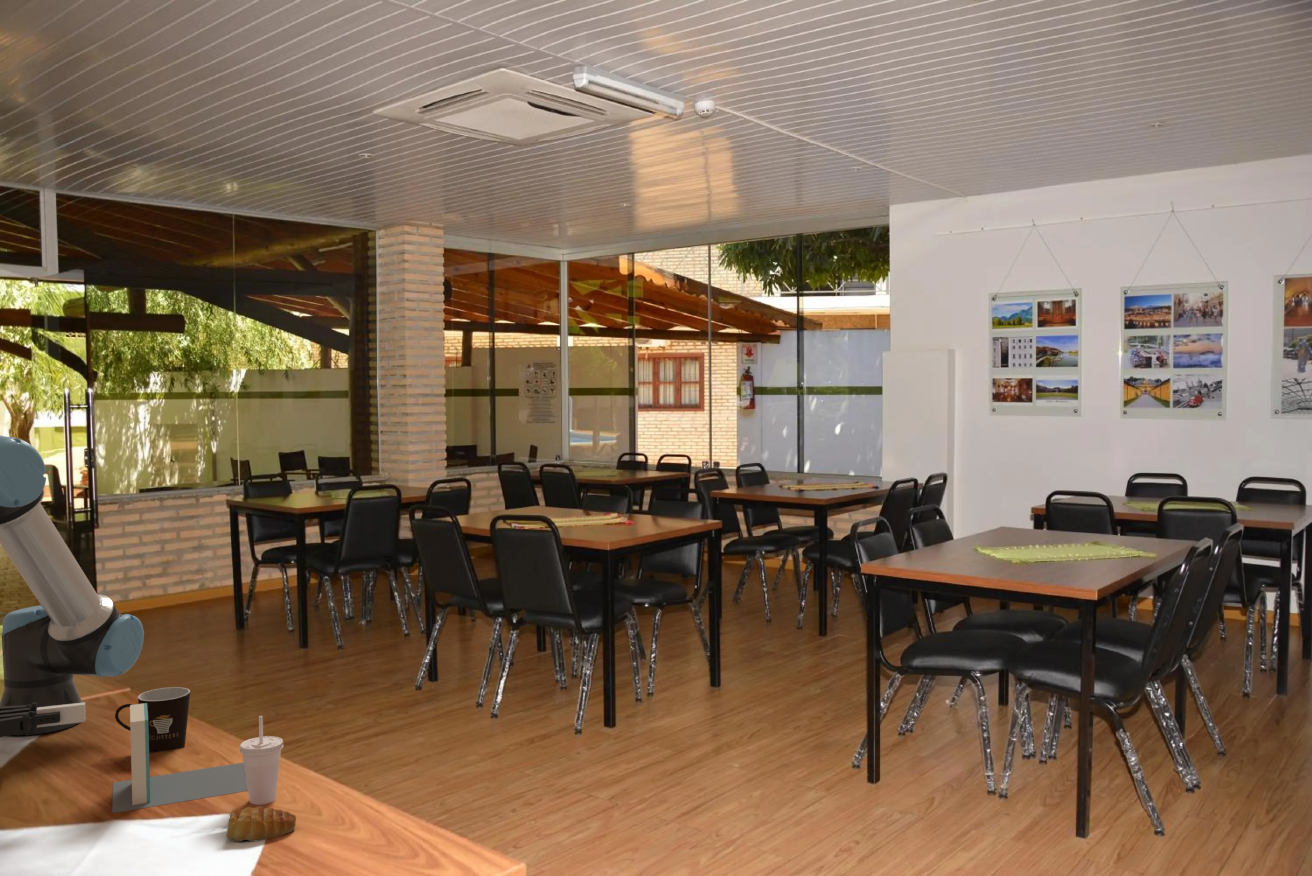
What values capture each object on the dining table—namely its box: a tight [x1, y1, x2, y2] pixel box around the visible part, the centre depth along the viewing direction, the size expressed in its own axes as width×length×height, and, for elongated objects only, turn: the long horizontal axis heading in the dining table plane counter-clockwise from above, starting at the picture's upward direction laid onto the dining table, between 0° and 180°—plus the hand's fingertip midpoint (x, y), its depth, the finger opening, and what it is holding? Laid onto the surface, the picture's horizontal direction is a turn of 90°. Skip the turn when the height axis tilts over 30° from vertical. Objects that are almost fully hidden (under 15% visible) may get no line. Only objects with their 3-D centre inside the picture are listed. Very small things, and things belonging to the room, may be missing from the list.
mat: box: [111, 762, 248, 814], centre depth 169 cm, size 14×20×1 cm
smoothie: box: [239, 715, 284, 806], centre depth 163 cm, size 6×6×14 cm
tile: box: [129, 703, 151, 805], centre depth 166 cm, size 10×2×13 cm, turn 27°
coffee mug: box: [114, 686, 191, 754], centre depth 188 cm, size 12×9×10 cm
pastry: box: [225, 805, 297, 842], centre depth 152 cm, size 9×7×4 cm
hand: (85, 712), depth 163 cm, fingers closed
